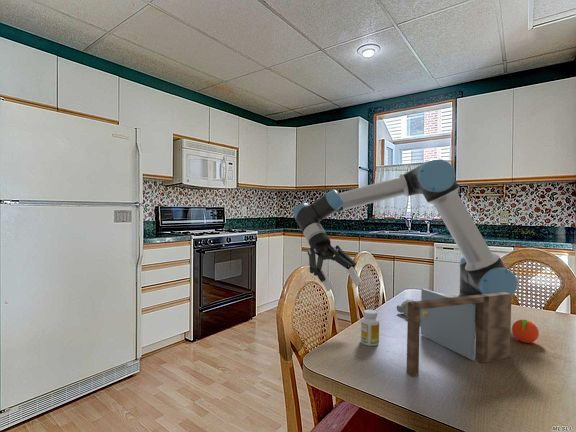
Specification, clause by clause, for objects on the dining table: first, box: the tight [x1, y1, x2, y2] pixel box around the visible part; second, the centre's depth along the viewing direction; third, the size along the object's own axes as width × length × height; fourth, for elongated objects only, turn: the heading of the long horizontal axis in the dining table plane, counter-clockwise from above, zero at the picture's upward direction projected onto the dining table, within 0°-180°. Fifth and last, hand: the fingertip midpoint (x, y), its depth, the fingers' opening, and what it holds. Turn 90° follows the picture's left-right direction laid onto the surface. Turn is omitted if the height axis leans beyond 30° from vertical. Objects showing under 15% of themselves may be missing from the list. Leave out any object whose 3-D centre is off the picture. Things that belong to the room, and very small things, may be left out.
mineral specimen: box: [396, 299, 421, 322], centre depth 124 cm, size 16×7×7 cm, turn 23°
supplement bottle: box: [360, 309, 380, 347], centre depth 100 cm, size 5×5×10 cm
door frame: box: [405, 292, 513, 378], centre depth 87 cm, size 34×2×18 cm, turn 110°
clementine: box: [511, 319, 540, 344], centre depth 102 cm, size 8×7×7 cm
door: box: [420, 288, 476, 360], centre depth 98 cm, size 19×3×15 cm, turn 20°
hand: (345, 286), depth 109 cm, fingers open, 13 cm apart
